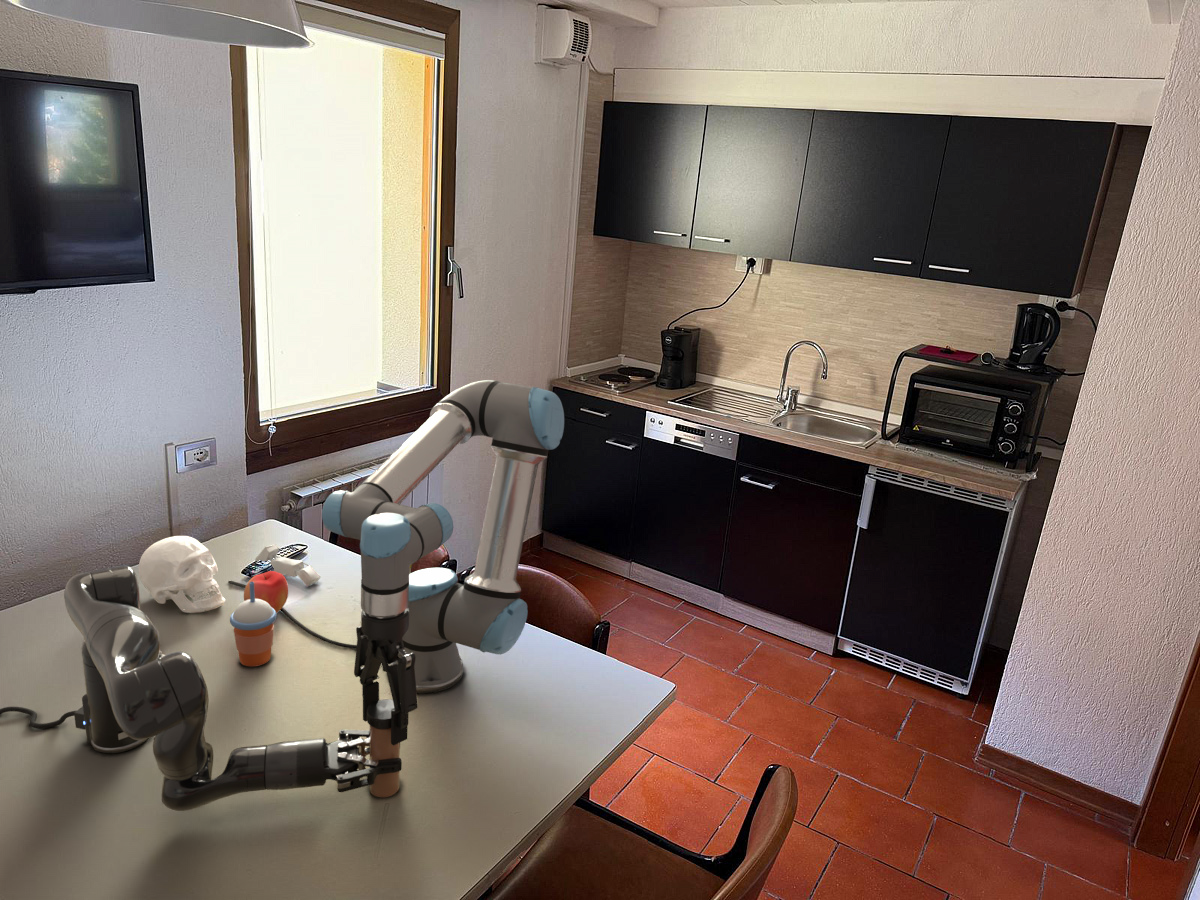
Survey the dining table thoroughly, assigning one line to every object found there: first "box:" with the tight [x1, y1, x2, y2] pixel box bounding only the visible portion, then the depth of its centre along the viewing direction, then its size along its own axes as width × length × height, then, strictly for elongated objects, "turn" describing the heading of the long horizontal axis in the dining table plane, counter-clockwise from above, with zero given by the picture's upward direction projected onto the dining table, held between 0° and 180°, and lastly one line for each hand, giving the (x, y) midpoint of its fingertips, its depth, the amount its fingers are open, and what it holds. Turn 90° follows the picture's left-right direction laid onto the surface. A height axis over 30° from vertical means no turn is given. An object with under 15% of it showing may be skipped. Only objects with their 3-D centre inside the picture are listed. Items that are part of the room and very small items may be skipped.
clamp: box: [254, 544, 322, 587], centre depth 219 cm, size 20×4×7 cm, turn 62°
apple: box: [243, 570, 289, 614], centre depth 199 cm, size 10×10×10 cm
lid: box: [366, 698, 394, 729], centre depth 144 cm, size 6×6×2 cm
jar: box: [369, 725, 401, 798], centre depth 146 cm, size 5×5×15 cm
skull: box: [138, 535, 226, 614], centre depth 202 cm, size 13×22×16 cm, turn 73°
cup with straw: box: [229, 582, 278, 667], centre depth 180 cm, size 9×9×18 cm
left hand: (400, 753), depth 147 cm, fingers closed on jar, 5 cm apart
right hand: (384, 729), depth 144 cm, fingers open, 8 cm apart
